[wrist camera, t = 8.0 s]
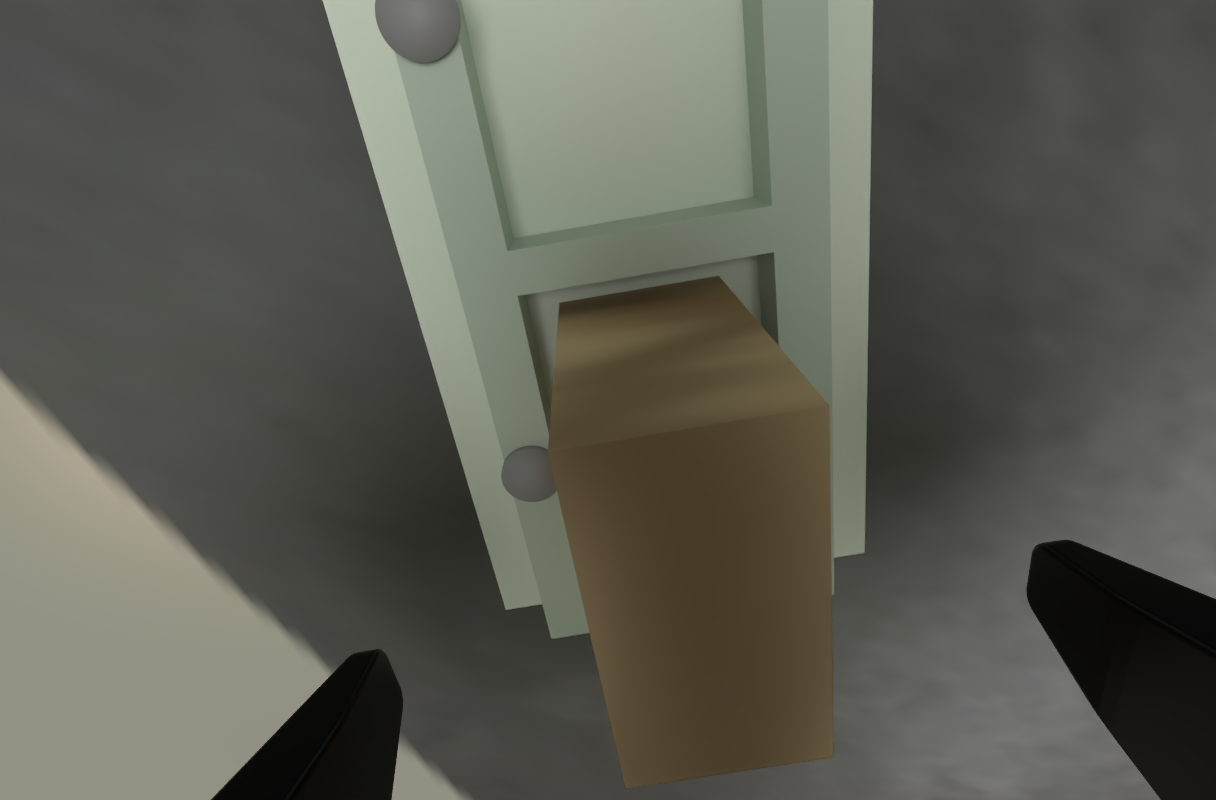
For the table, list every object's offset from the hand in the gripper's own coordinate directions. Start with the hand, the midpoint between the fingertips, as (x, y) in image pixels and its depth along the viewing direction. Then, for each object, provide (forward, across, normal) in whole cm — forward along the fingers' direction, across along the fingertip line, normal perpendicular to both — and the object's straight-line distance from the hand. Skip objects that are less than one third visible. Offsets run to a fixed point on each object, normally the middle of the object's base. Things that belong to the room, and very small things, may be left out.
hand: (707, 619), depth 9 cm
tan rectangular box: (+6, 0, 0) cm, 6 cm away
